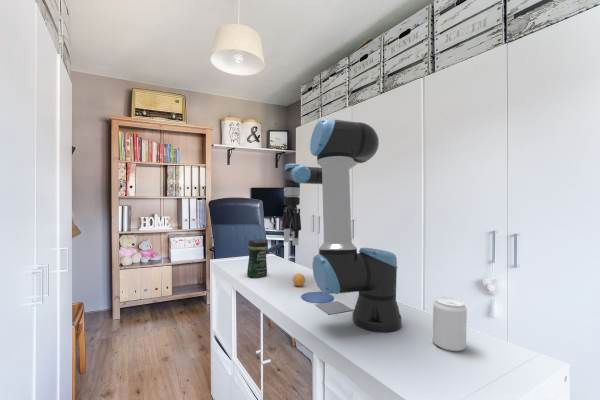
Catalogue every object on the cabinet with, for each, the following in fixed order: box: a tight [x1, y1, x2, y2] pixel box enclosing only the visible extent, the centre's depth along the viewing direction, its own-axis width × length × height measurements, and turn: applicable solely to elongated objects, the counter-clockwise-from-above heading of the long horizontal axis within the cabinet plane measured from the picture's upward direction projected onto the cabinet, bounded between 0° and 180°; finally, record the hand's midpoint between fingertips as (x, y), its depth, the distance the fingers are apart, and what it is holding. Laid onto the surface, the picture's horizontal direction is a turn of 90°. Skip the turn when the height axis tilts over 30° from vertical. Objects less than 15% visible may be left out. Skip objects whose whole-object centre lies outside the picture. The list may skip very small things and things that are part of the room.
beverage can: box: [432, 296, 468, 352], centre depth 80 cm, size 8×8×12 cm
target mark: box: [300, 291, 335, 304], centre depth 118 cm, size 13×13×1 cm
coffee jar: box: [246, 238, 269, 279], centre depth 148 cm, size 10×8×19 cm
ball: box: [292, 273, 306, 287], centre depth 133 cm, size 6×6×6 cm
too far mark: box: [314, 300, 354, 316], centre depth 107 cm, size 10×10×1 cm
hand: (290, 243), depth 141 cm, fingers open, 9 cm apart
